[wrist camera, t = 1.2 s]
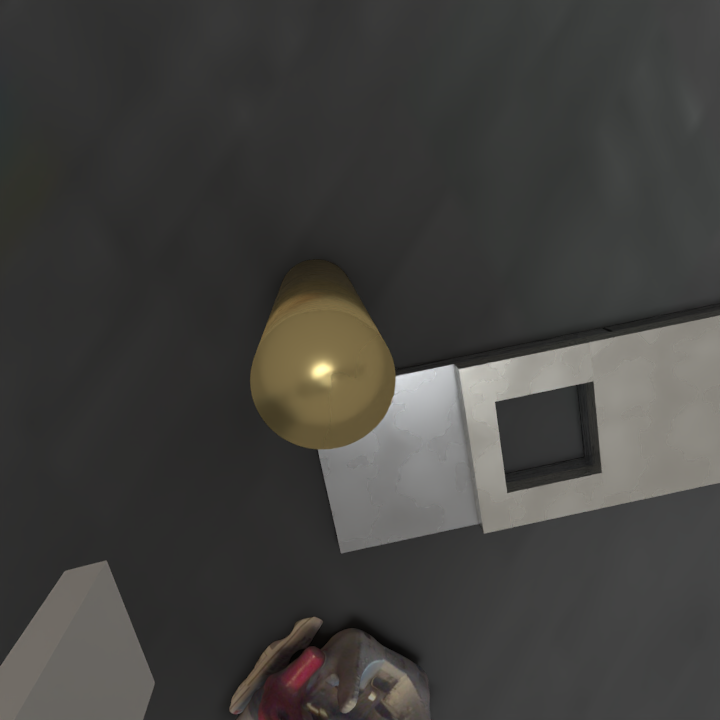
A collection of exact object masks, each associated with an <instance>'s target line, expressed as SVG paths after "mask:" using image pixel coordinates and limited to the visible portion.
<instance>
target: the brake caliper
mask: <svg viewBox="0 0 720 720" xmlns="http://www.w3.org/2000/svg"><path fill="white" fill-rule="evenodd" d="M322 624H323V621H322V620H321V619H319V618H317V617H310V618H305V619H301V620H299V621H297V622H296V623H295V625H294V628H293V631H292V632H291V634H290V635H289V636H288V637H286V638H284V639H281V640H277V641H274V642H273V643H271V644H270V645H269V646H268V647H267V649H266V650H265V651H264V652H263V653H262V655H261V656H260V658H259V660H258V661H257V663H256V664H255V668H254V669H253V670H252V671H251V673H250V674H249V675H248V677H247V679H245V680H244V681H243V682H242V683H241V684H240V686H239V687H238V689H237V690H236V692H235V694H234V695H233V696H232V699H231V706H230V708H229V710H230V712H231V713H233V714H240V713H241V714H240V715H239V716H238V718H237V719H236V720H432V719H431V716H430V691H429V684H428V677H427V675H426V673H425V672H424V671H423V670H422V669H421V668H420V667H419V666H418V665H417V664H415V663H414V662H412V661H411V660H409V659H408V658H406V657H404V656H402V655H400V654H398V653H397V652H395V651H393V650H390V649H388V648H386V647H384V646H383V645H381V644H380V643H379V642H377V641H376V640H375V639H374V638H373V637H372V636H371V635H369V634H368V633H366V632H364V631H362V630H360V629H356V628H349V629H345V630H342V631H340V632H338V633H337V634H335V635H334V636H333V637H332V638H331V639H330V640H329V641H328V642H327V643H326V645H325V646H324V647H323V648H322V649H319V648H317V647H315V646H310V647H308V646H309V645H310V643H311V641H312V639H313V637H314V635H315V634H316V632H317V631H318V630H319V628H320V627H321V625H322ZM307 647H308V648H307ZM301 649H305V650H304V651H303V653H302V654H301V655H300V656H299V657H298V658H297V659H296V660H294V661H293V662H292V663H290V664H289V661H290V659H291V657H292V656H293V655H294V654H295V653H296V652H297V651H298V650H301ZM288 664H289V665H288Z"/></svg>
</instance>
